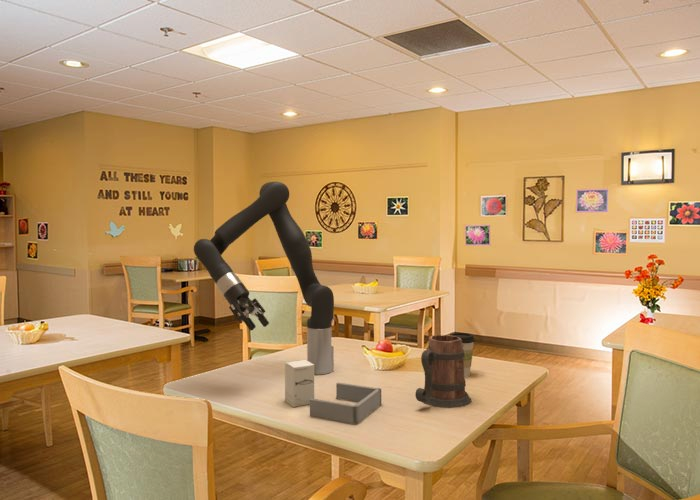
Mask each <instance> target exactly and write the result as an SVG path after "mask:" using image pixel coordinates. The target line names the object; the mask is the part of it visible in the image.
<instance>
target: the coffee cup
mask: <svg viewBox="0 0 700 500" xmlns="http://www.w3.org/2000/svg"><path fill="white" fill-rule="evenodd" d="M449 335H451V336H457V337H459V338H461V339H462V345H463V350H464V378H467V377H470V373H471V367H472V363H473V354H474V342H476V339H475V337H474V335H473V334H472V333H467V332H452V333H450V334H449Z"/></svg>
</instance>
